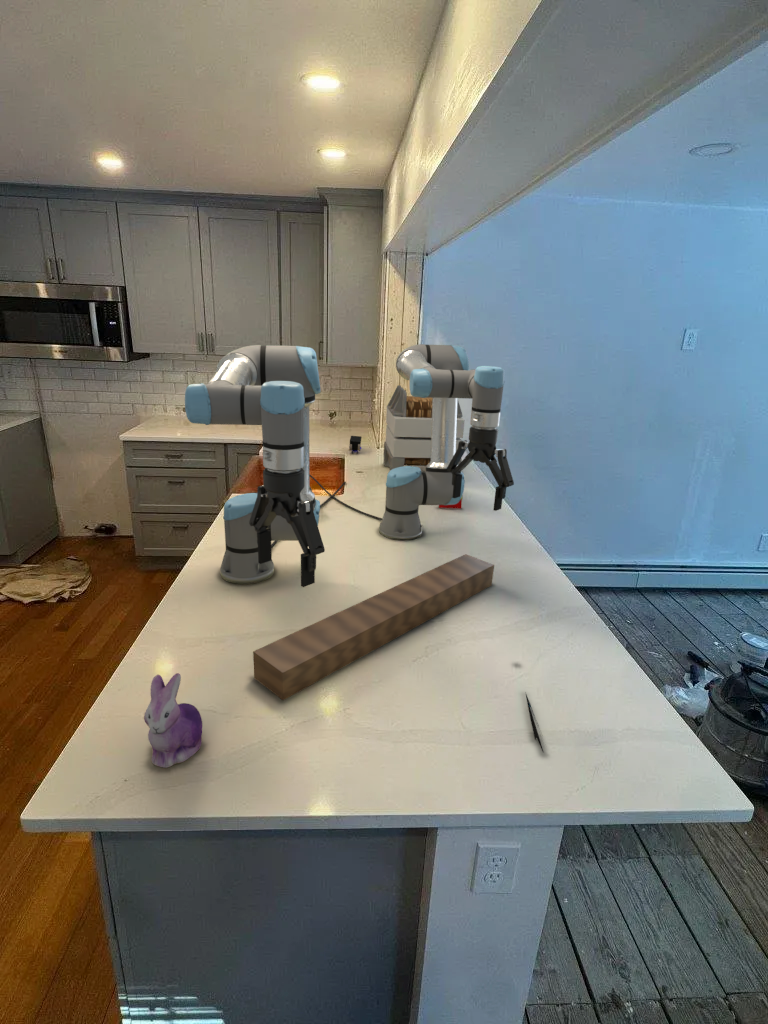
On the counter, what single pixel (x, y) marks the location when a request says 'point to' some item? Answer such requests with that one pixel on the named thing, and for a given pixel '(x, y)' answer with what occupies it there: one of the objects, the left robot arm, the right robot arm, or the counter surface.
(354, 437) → the figurine character
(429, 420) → the grey slatted crate
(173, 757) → the figurine
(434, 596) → the wide beam
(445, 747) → the counter surface
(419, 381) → the right robot arm
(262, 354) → the left robot arm
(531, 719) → the feather
